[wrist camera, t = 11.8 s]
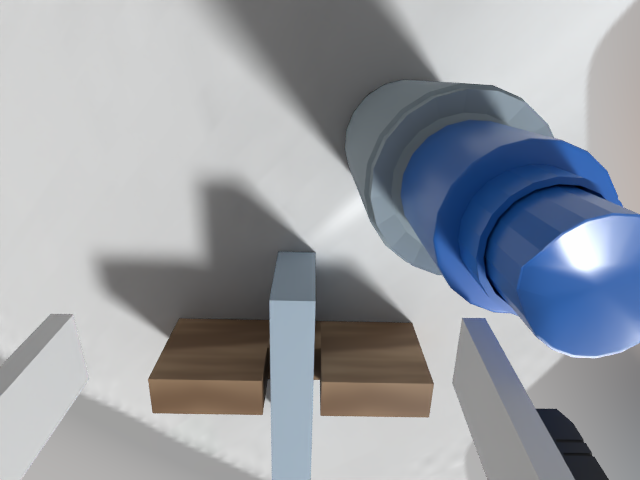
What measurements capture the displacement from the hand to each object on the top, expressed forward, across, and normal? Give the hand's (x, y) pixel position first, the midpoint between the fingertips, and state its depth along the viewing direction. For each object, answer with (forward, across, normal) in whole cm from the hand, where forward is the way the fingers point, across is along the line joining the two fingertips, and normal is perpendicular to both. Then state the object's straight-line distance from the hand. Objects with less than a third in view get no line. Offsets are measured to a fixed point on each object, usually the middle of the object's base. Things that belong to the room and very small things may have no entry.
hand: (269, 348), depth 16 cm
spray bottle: (+21, +8, +2) cm, 23 cm away
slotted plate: (+21, 0, -14) cm, 25 cm away
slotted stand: (+21, 0, -14) cm, 25 cm away
